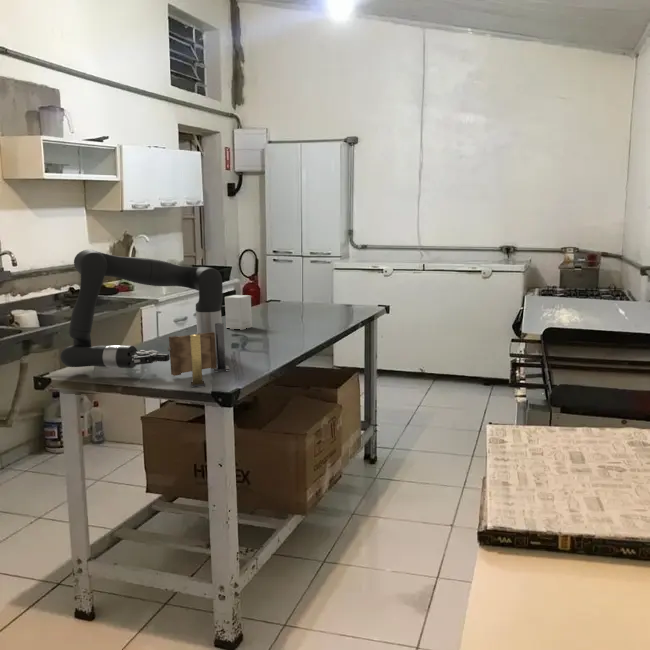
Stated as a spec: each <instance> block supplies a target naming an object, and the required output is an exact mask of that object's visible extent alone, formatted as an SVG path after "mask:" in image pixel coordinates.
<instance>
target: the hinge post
mask: <svg viewBox="0 0 650 650" xmlns="http://www.w3.org/2000/svg"><path fill="white" fill-rule="evenodd" d="M215 339H216V367H217V368H214V370H213V372H214V371H224V372H227V371H226V370H230V371H231V369H230V366H229V365H227V364H226V345H225V344H226V343H225V342H226V341H225V325H224V322H222V323H216V324H215Z"/></svg>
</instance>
